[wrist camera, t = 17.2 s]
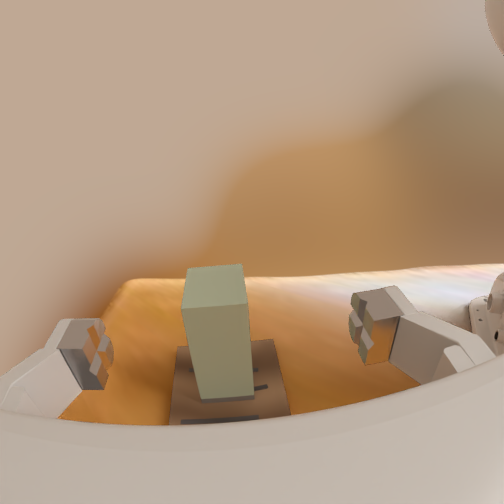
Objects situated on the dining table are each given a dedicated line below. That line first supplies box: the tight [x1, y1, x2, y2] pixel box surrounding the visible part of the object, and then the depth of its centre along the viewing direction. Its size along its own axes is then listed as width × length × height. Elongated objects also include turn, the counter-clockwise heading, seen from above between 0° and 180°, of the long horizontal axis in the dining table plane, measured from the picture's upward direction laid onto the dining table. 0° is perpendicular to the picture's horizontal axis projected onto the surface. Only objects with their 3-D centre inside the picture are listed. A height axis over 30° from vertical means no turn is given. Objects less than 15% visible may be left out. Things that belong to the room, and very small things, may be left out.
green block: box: [181, 264, 255, 403], centre depth 26 cm, size 6×4×10 cm
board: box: [169, 339, 291, 425], centre depth 24 cm, size 19×10×1 cm, turn 5°
